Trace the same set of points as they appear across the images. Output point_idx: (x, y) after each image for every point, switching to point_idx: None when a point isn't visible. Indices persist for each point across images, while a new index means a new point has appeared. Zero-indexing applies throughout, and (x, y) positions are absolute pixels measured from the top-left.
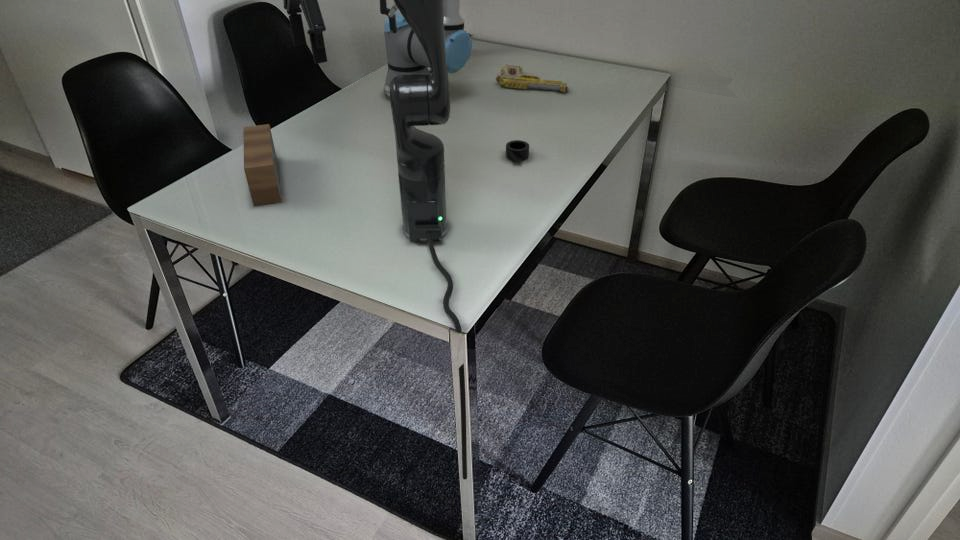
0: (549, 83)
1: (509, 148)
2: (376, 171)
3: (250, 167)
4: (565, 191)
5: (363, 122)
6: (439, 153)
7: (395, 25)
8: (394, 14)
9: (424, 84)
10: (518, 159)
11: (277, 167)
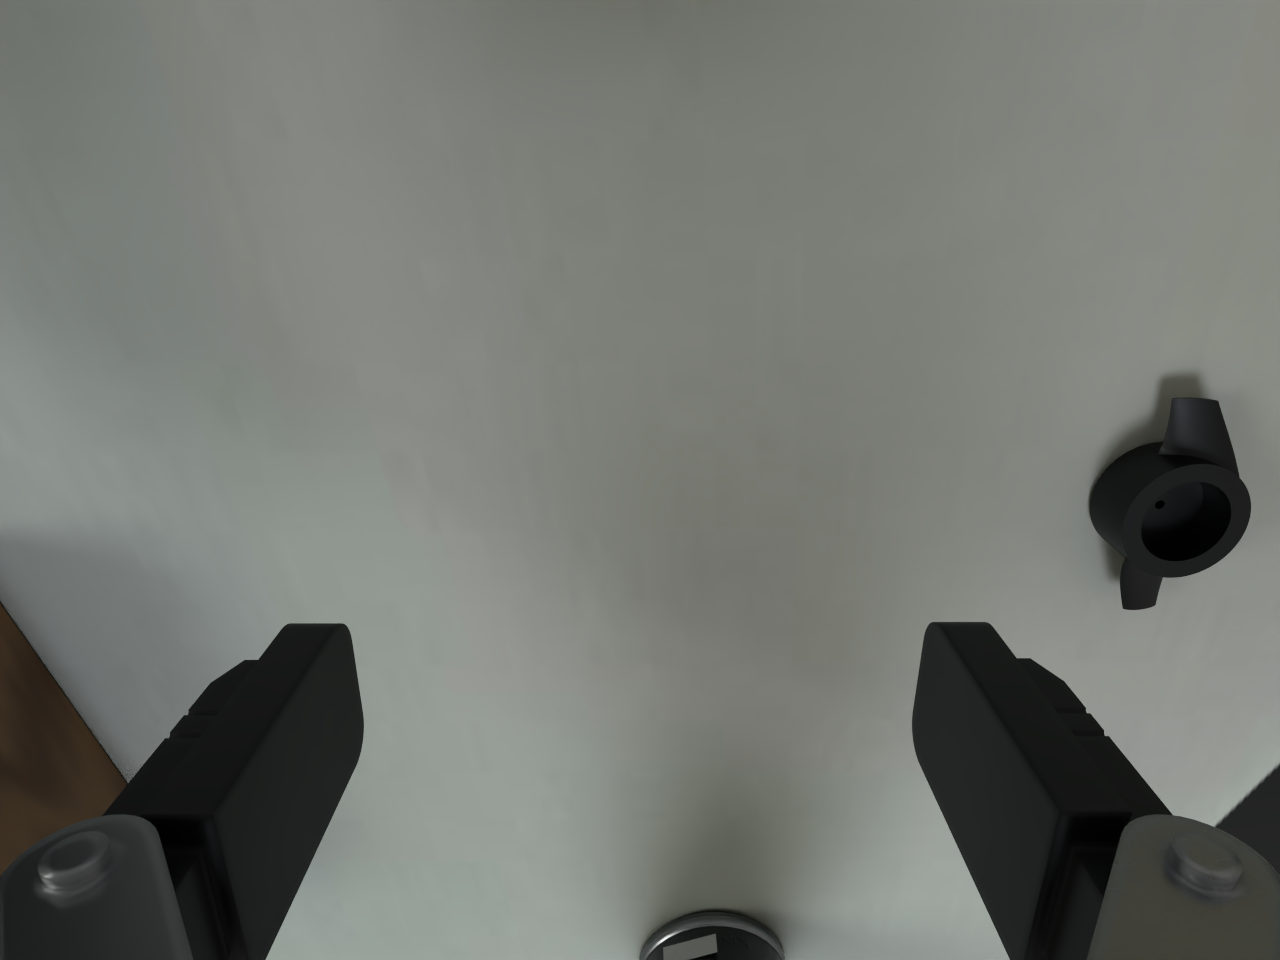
0: None
1: (1133, 553)
2: (467, 628)
3: None
4: (1259, 764)
5: (229, 42)
6: None
7: (315, 791)
8: (190, 863)
9: None
10: (1146, 595)
11: (9, 651)
